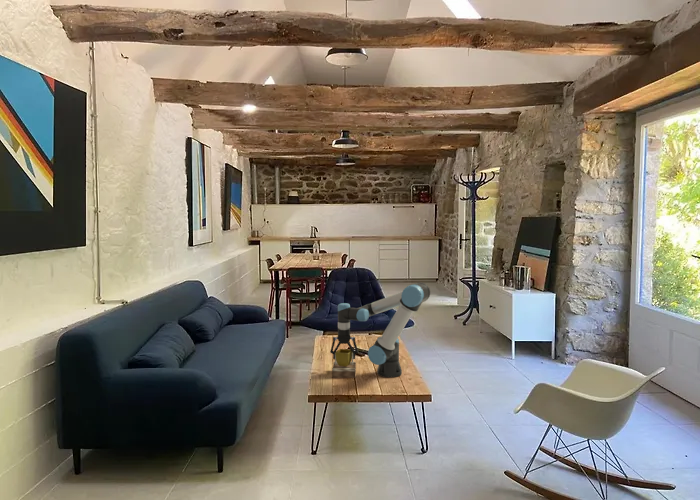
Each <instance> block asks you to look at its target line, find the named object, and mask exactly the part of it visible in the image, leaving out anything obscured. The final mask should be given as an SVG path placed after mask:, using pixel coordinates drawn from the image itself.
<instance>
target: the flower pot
mask: <svg viewBox="0 0 700 500" xmlns="http://www.w3.org/2000/svg"><path fill="white" fill-rule="evenodd" d="M335 355H336V362H337V363H338V365H339V366H345V367H347V366H348V365H349V364H350V362H352V351H351V349H344V348H338V349H337V351H336V352H335Z"/></svg>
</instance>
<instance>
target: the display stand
mask: <svg viewBox="0 0 700 500" xmlns="http://www.w3.org/2000/svg"><path fill="white" fill-rule="evenodd" d="M336 363H337V361H336ZM332 364H333V365H332V367H331V378H335V379H336V378H337V379H338V378H339V379H344V378H345V379H347V378H348V379H349V378H350V379H351V378H352V379H354V378H355V379H356V372H357V367H356V364H357V362H356V361H353V365H352V361H351V362H350V364H349V365H348V366H347V367H345V366H339V365H338V363H337V364H336V365H335V361H333V363H332Z"/></svg>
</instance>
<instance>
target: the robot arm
mask: <svg viewBox="0 0 700 500" xmlns="http://www.w3.org/2000/svg"><path fill="white" fill-rule="evenodd" d="M430 296H431V289H430V287H429V285H428V284H426V283H425V282H417V283H413V284H409V285H407V286H406V287H405V288H404V289H403V290H402V291H400V292H398V293H396V294H392V295H390V296H386V297H384V298H381V299H378V300H376V301H373V302H371V303H367V304H365V305H362V306H360V307H351V305H350V303H346V302H343V303H339V304H337V336H333V337H332V345H331V349H330V352H329V353H330V354H332V356H333V357H332V359H333V360H334V362H335V365H336V364H337V363H336V362H337V361H336V355H335V352H336V351H338V350H339V347H340V345H341V344H342V345H344V344H346V345H347V346H348V347H349V350H351V351H352V360H351V362H352V365H353V362H354V360H355V359H356V354H359V350H358V347H357V343H356V337H355V336H351V329H350V328H351V321H357V322H367V321H368V320H369V318H370V317H372V316H375V315H378V314H380V313H384V312H387V311H389V310H392V309H395V308H397V310H396V312H395V313H394V314H393V316H392V317H391V320H390V322H389V323H388V325H387V326H386V328H385V330H384V331H383V333H382V335H381V336H378V337H377V338H376V340H375V342H374V343H373V345H371V346H370V347H369V349H368V350H367V357H368V359H369V360H370V362H371V363H372V364H374V365H376V366H377V369H376V370H377V371H376V373H377V375H378V376H380V377H383V378H397V377H400V376H402V373H403V369H402V367H401V364H400V339H399V336H401V334H402V333H403V330H404V328H405V327H406V325H407V323H408V322H409V321H410V318H411V317H412V315H413V314H414V313H417V312H418V310H419V309H420V307H421V306H422V305H423V303H425V302H426V301H428V299H430ZM336 341H338V343H337V345H336V347H334V346H335V343H336ZM351 341H352V343H353V346H352V344H351ZM353 347H354V348H353Z"/></svg>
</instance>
